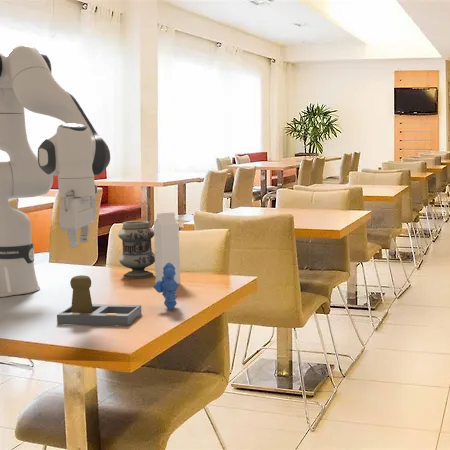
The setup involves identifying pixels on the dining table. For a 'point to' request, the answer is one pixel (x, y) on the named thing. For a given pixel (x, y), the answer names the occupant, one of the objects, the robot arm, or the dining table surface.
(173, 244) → the milk
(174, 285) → the grapes
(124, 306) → the panel
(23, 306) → the dining table surface
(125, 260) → the apothecary jar
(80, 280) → the cork
